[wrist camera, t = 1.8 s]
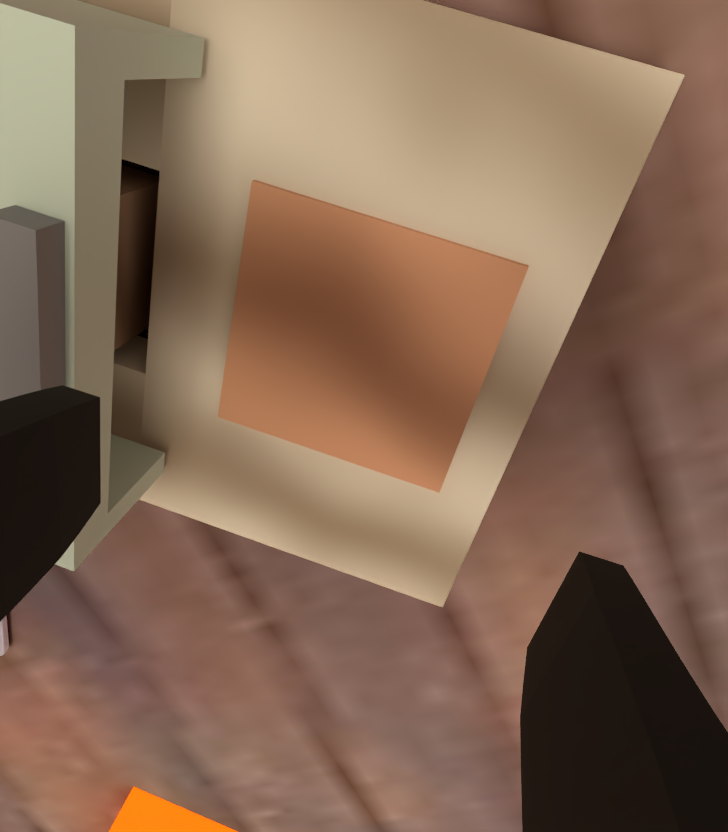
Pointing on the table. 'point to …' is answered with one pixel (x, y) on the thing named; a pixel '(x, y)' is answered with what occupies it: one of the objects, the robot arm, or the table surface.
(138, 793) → the orange juice
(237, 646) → the table surface
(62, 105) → the slide cover
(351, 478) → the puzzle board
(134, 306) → the walnut block
